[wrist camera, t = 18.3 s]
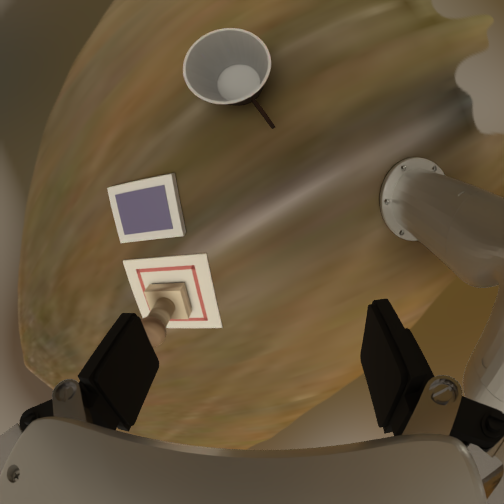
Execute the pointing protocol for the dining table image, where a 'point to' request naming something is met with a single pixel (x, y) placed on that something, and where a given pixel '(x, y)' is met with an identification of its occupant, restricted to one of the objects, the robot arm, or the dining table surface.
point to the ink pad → (147, 209)
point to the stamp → (165, 308)
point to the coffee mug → (228, 68)
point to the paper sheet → (177, 270)
